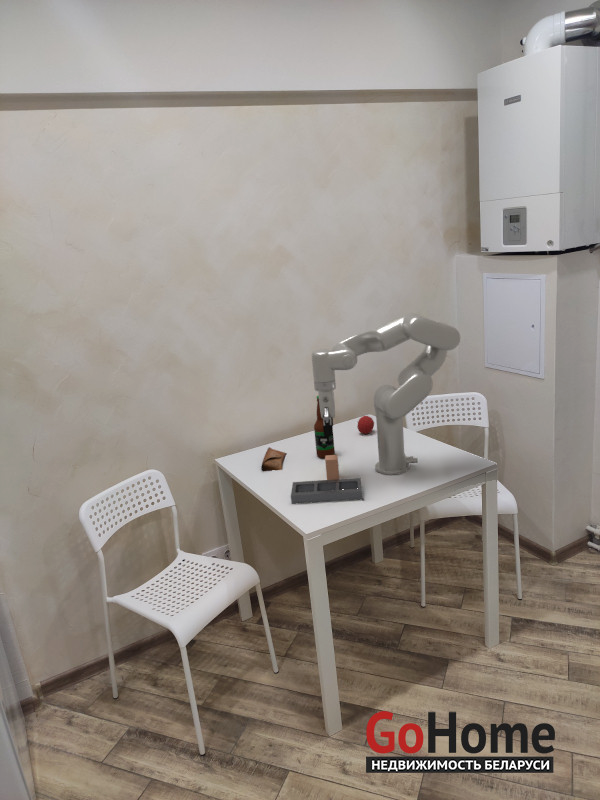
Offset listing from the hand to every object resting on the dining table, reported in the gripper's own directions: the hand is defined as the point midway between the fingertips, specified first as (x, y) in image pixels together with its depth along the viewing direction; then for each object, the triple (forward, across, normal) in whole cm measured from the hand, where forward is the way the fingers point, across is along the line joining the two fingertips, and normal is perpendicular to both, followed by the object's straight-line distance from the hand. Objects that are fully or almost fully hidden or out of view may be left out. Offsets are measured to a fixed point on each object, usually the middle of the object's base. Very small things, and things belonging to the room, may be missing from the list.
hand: (328, 430), depth 219 cm
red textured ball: (+18, +45, -14) cm, 51 cm away
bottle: (+18, +22, +3) cm, 29 cm away
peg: (+18, 0, 0) cm, 18 cm away
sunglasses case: (+19, +19, +23) cm, 36 cm away
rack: (+18, -14, +2) cm, 23 cm away
